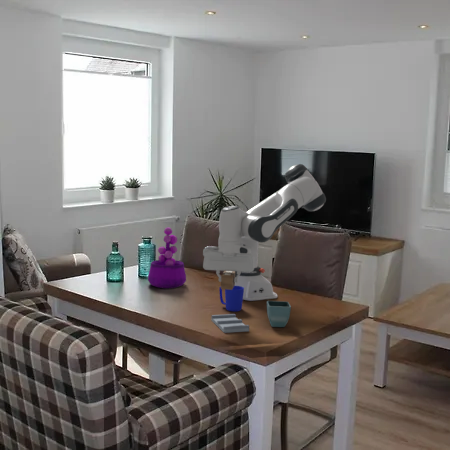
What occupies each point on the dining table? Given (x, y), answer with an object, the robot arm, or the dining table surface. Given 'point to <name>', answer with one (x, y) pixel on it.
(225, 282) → the brown block
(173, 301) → the dining table surface
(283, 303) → the flower pot
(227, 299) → the mug
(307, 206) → the robot arm
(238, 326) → the grey ridged tray
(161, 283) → the decorative plant
